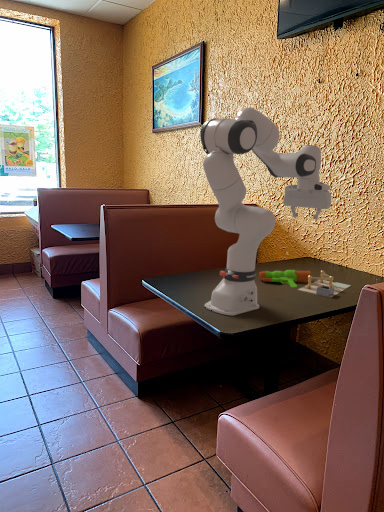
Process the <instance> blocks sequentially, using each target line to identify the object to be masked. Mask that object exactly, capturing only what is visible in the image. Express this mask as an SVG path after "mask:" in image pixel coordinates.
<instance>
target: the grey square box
mask: <svg viewBox="0 0 384 512" xmlns="http://www.w3.org/2000/svg"><path fill="white" fill-rule="evenodd" d="M317 294H318V295H317ZM333 294H334V287H329V286H325V285H321V286H319V287H317V292H316V294H315V295H317V296H321V295H322V296H321V297H325V296H326V297H325V298H329V297H330V296H332V295H333Z"/></svg>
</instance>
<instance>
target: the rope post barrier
mask: <svg viewBox="0 0 384 512" xmlns="http://www.w3.org/2000/svg"><path fill="white" fill-rule="evenodd" d="M334 278H335V277H334V276H332V275H328V274H327V273H326V272H325V270H323V269H322V270H320V276H319V277H316V276H313V275H312V276H308V283H307V285H308V286H307V289H311V283H312V282H311V280H312V281H318V280H320V283H323V280H325V281H329V287H332V283H333V282H334V281H333V280H334Z"/></svg>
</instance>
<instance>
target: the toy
mask: <svg viewBox="0 0 384 512" xmlns="http://www.w3.org/2000/svg"><path fill="white" fill-rule="evenodd" d="M308 276H312V277H313V274H312V271H311V270H296V269H286V270H284V271H283V270H274V271H269V270H265V271H262V270H261V271H260V272H259V273H258V278H259V279H260V280H261V281H263V282H270V283H281V284H283V285H289V287H290V288H297V287H298V285H297V284H296V283H303V284H308ZM311 283H313V280H311Z"/></svg>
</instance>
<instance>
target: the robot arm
mask: <svg viewBox="0 0 384 512" xmlns="http://www.w3.org/2000/svg"><path fill="white" fill-rule="evenodd" d="M199 136H200V138H199V139H200V142H201V144H202V150H203V151H204V152H205V153H206V155H205V157H204V159H203V162H202V168H203V171H204V174H205V177H206V181H207V182H208V185H209V187H210V188H211V191H212V192H213V195H214V196H215V198H216V202H217V203H218V208H217V209H216V211H215V215H214V222H215V224H216V226H217V228H219V229H221V230H223V231H226V232H227V233H235V234H239V235H238V239H237V242H236V243H233V244H232V245H230V246H229V247H228V249H227V258H226V267H225V268H224V270H220V271H219V276H220V277H223V278H222V279H221V281H220V282H219V283H218V284H217V286H216V287H215V288H214V289H213V290H212V292H211V298H210V300H209V301H208V302H206V303H204V307H206V308H205V309H207V310H209V311H211V310H212V311H211V312H214V313H217V314H221V315H225V316H236V315H240V314H243V313H247V312H251V311H254V310H258V309H260V304H258V287H257V285H256V281H255V279H256V277H257V273H256V272H257V270H256V262H257V261H256V260H257V254H258V253H257V252H258V248H259V247H260V244H261V243H262V241H263V240H264V239H265V238H266V237H268V236H269V235H270V234H271V233H272V232H273V231H274V229H275V226H276V219H275V215H274V213H273V211H271V210H269V209H267V208H264V207H262V206H251V205H245V204H244V203H243V201H244V200H245V197H246V194H247V188H246V186H245V183H244V180H243V178H242V177H241V174H240V172H239V170H238V168H237V166H236V164H235V160H234V154H236V155H245V154H247V153H249V152H251V151H252V153H253V154H254V155H255V156H256V158H258V159H259V160H260V161H261V163H262V164H264V165H265V167H266V169H267V171H268V173H269V174H270V176H272V177H274V178H297V180H296V181H297V183H296V184H288V185H286V186H285V187H284V195H283V201H282V204H283V205H284V206H285V207H290V211H291V213H292V217H293V218H297V217H298V212H296V209H297V208H298V207H299V208H307V209H316V213H315V214H313V215H312V216H313V217H312V219H313V220H318V219H319V215H320V214H321V213H322V210H329V209H330V208H331V207H332V193H331V192H330V190H331V185H330V184H327V183H324V182H321V181H320V170H321V166H322V150H321V148H320V147H319V146H317V145H312V144H306V145H302V147H301V149H300V150H299V151H296V152H288V153H287V152H286V153H283V152H275V151H274V149H275V148H277V147H276V146H277V145H278V143H279V140H280V130H279V128H278V126H277V125H276V124H275V123H274V122H273V121H272V120H271V119H270V118H269V117H267V115H265V114H264V113H262V112H261V111H259V110H257V109H255V108H253V107H245V108H243V109H241V110H240V111H239V112H238V113H237V114H236V115H235V118H234V119H233V118H230V117H229V118H226V117H225V118H211V119H209V120H207V121H205V122H204V123H203V124H202V126H201V127H200V135H199Z"/></svg>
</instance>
